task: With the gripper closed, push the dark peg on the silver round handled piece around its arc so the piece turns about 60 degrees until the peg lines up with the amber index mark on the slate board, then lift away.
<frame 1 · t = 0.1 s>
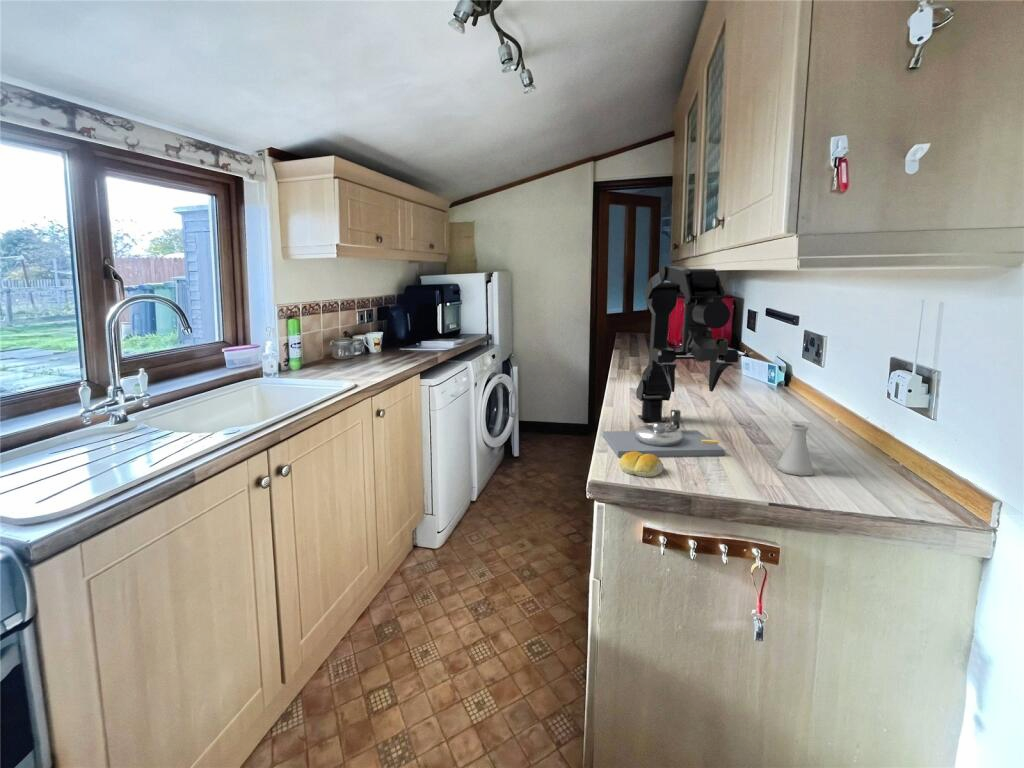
hand: (691, 391, 120), 15 cm above the counter, tool pointing down, fingers open, 9 cm apart
bread roll: (640, 471, 111), on the counter
silver round handled piece: (663, 426, 127), point 4 cm above the counter, hinge at 0.0°
flask: (794, 471, 110), on the counter
slate board: (659, 445, 127), on the counter
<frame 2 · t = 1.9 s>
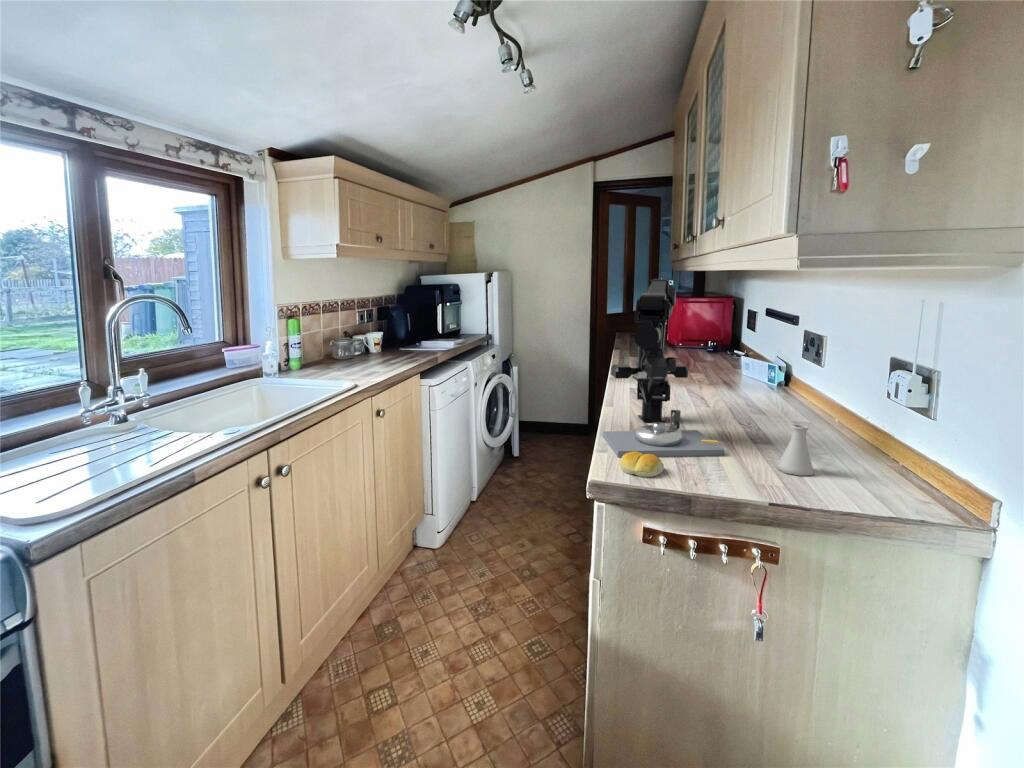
hand: (647, 403, 134), 9 cm above the counter, tool pointing down, fingers closed
nothing on the counter moved.
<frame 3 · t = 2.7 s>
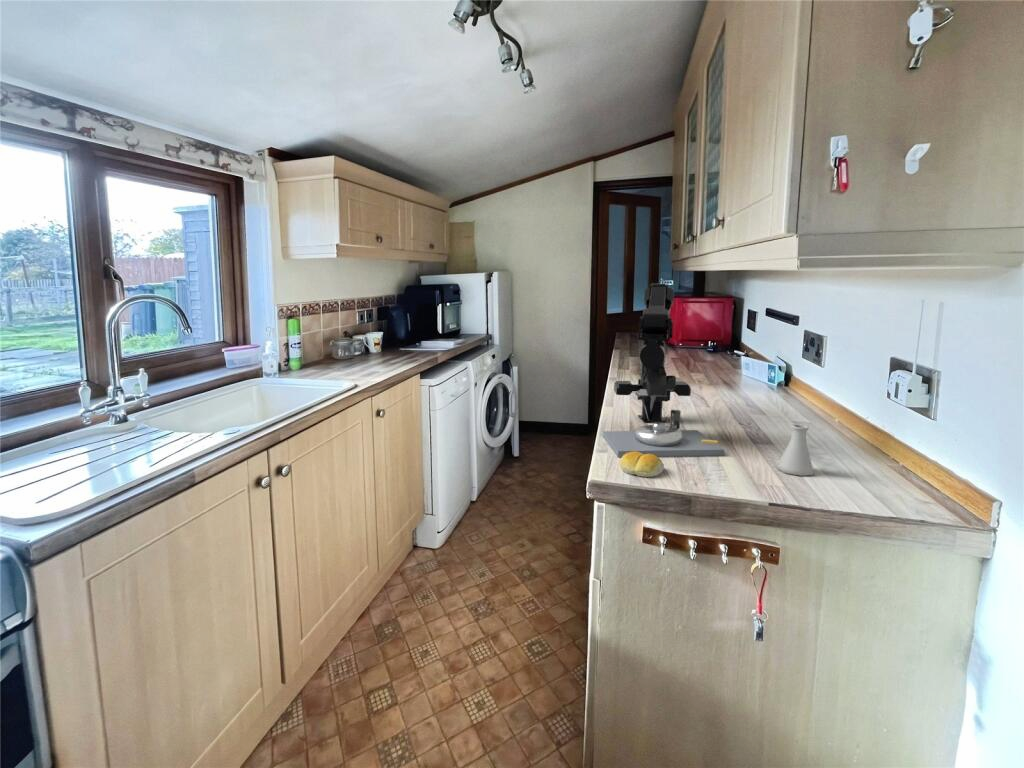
hand: (649, 420, 135), 4 cm above the counter, tool pointing down, fingers closed
nothing on the counter moved.
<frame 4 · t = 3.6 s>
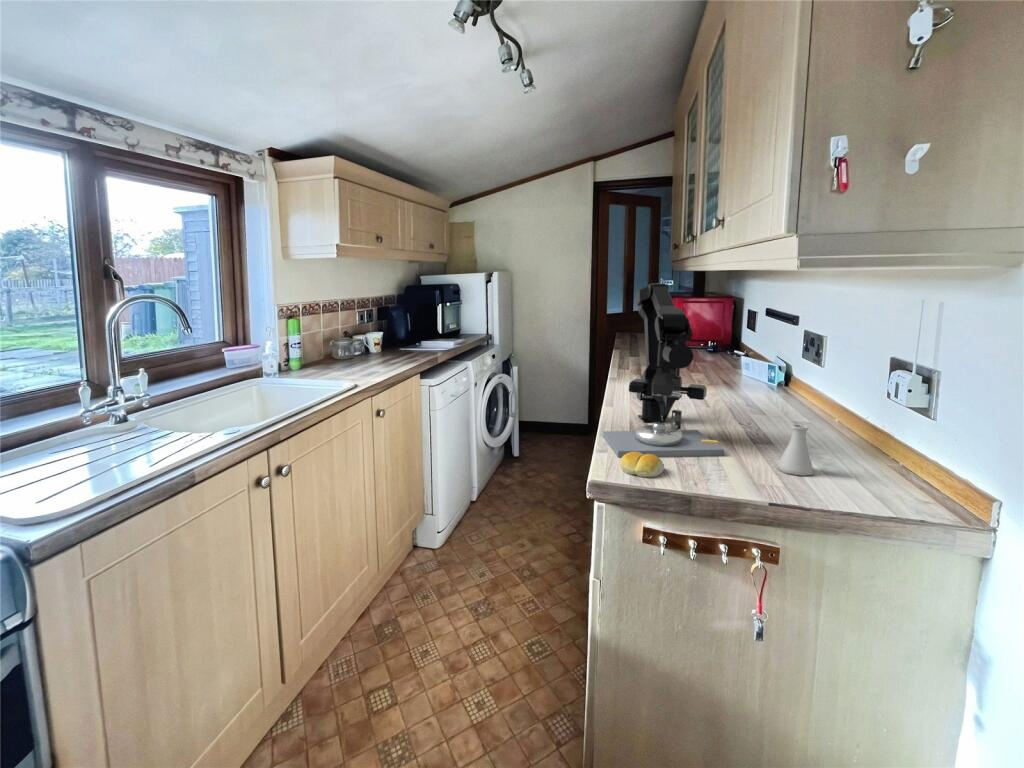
hand: (664, 420, 134), 4 cm above the counter, tool pointing down, fingers closed
silver round handled piece: (663, 426, 127), point 4 cm above the counter, hinge at -2.0°, touching gripper
everything else where it was.
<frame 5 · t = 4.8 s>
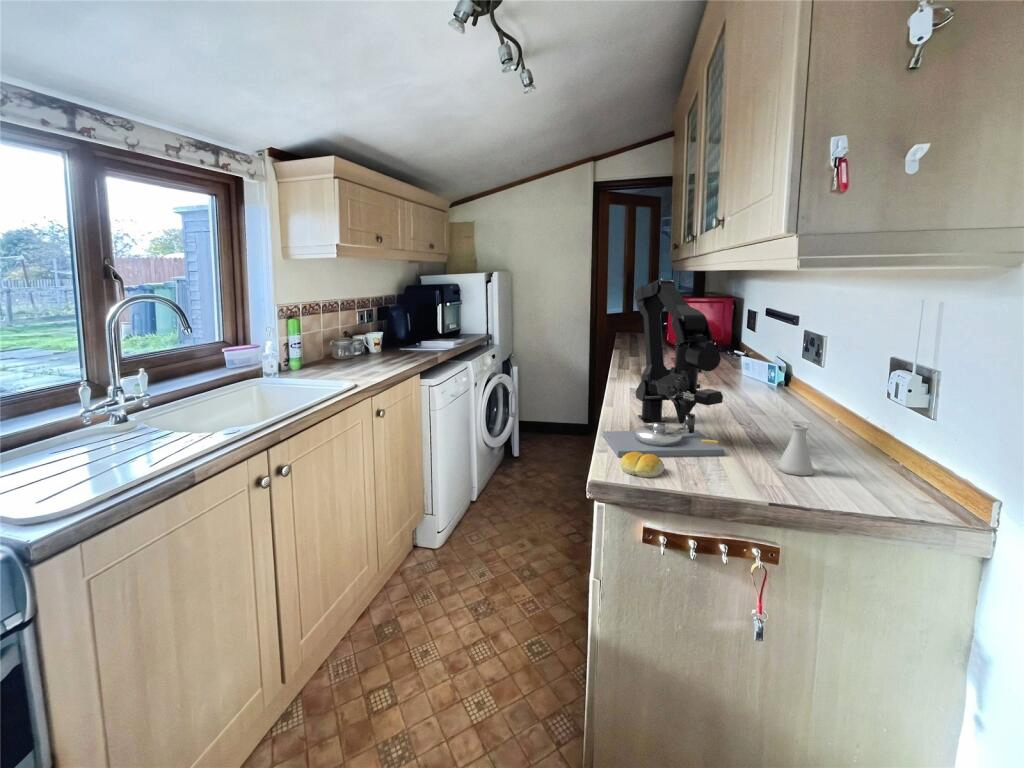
hand: (681, 423, 131), 4 cm above the counter, tool pointing down, fingers closed
silver round handled piece: (667, 427, 126), point 4 cm above the counter, hinge at -28.9°, touching gripper
everything else where it was.
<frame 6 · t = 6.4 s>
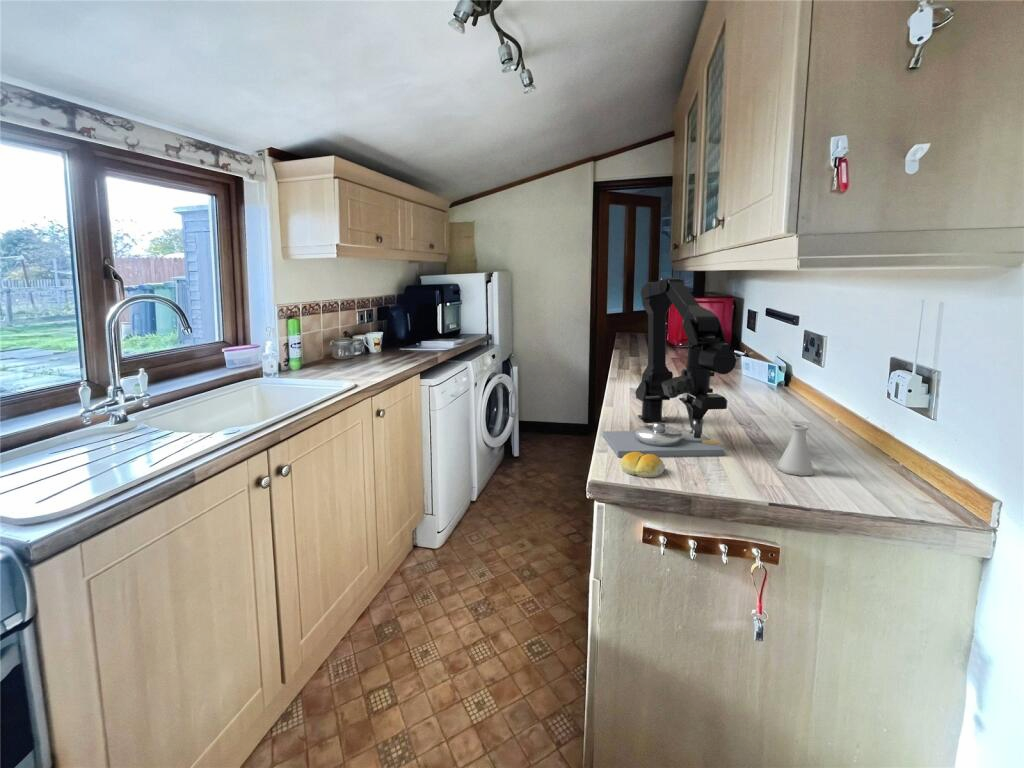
hand: (693, 428, 127), 4 cm above the counter, tool pointing down, fingers closed
silver round handled piece: (668, 428, 125), point 4 cm above the counter, hinge at -56.2°, touching gripper
everything else where it was.
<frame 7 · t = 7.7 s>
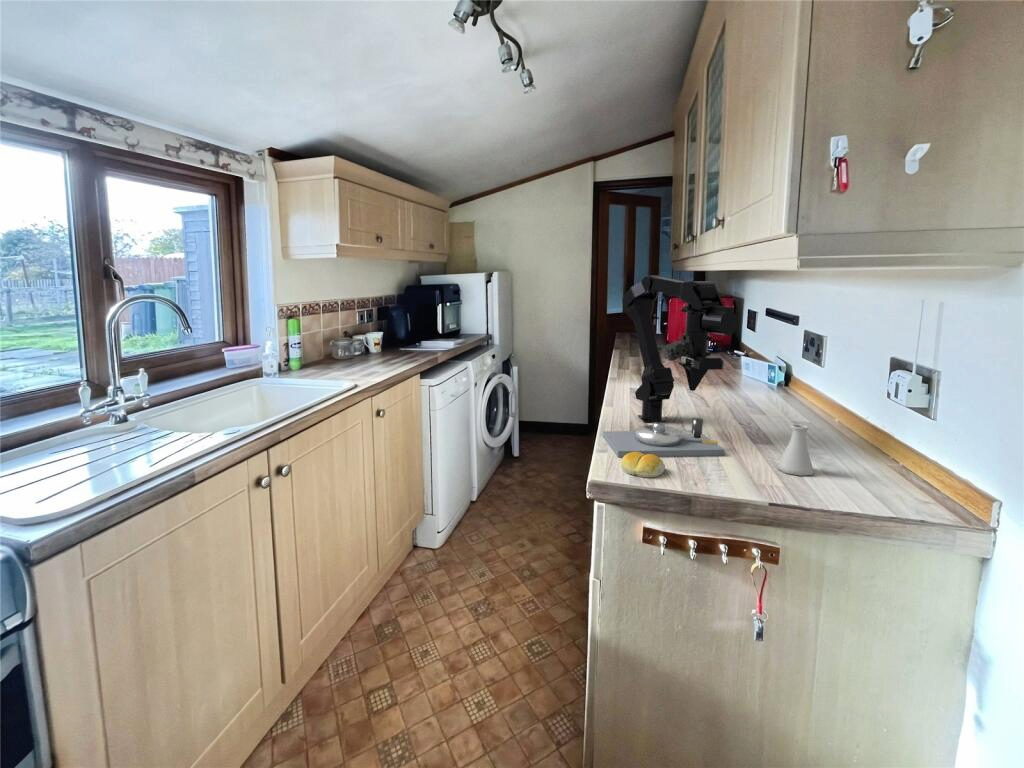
hand: (692, 390, 134), 12 cm above the counter, tool pointing down, fingers closed
silver round handled piece: (668, 428, 125), point 4 cm above the counter, hinge at -56.3°
everything else where it was.
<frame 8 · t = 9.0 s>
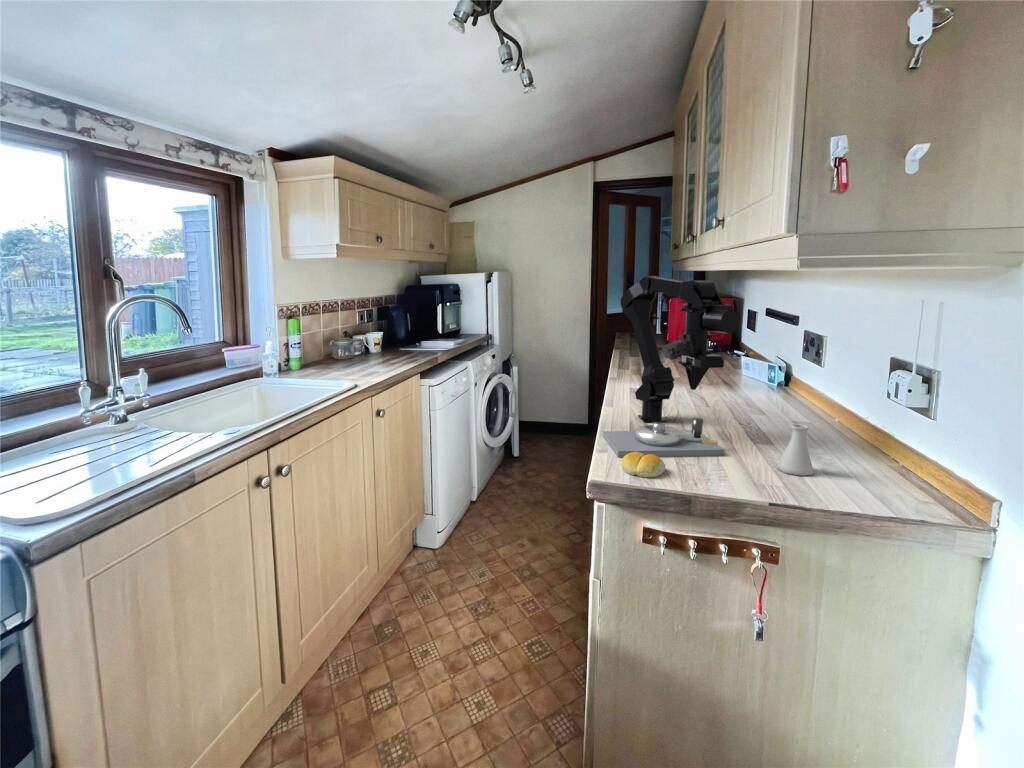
hand: (693, 389, 134), 12 cm above the counter, tool pointing down, fingers closed
nothing on the counter moved.
at the end: silver round handled piece at -56° (first picture: +0°) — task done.
